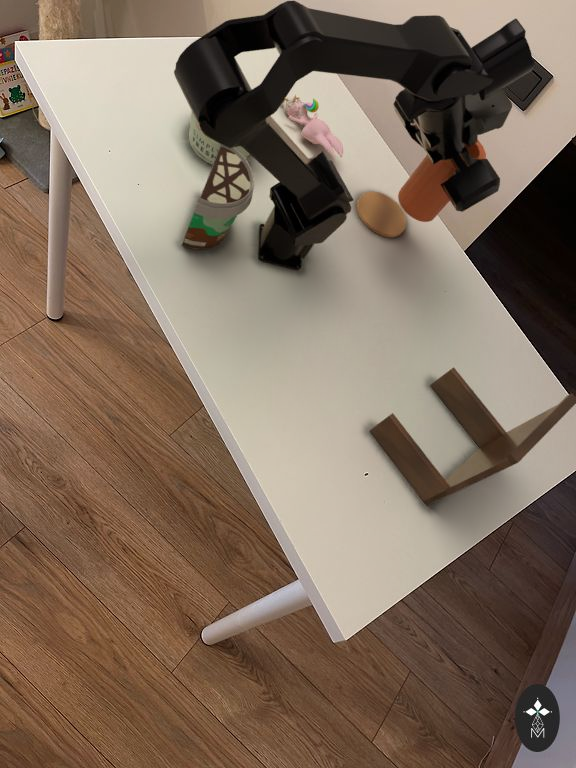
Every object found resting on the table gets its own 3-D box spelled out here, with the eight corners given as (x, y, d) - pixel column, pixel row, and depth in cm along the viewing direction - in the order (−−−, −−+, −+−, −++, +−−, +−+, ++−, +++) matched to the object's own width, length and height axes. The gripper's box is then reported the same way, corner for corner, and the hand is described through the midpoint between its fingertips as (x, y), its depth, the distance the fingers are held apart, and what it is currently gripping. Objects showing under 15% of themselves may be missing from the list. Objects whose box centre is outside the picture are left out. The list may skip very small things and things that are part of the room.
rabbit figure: (269, 112, 101) (320, 168, 96) (279, 79, 96) (333, 135, 91) (298, 110, 104) (348, 163, 99) (308, 77, 100) (362, 131, 94)
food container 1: (165, 143, 86) (175, 107, 81) (201, 104, 93) (213, 67, 88) (236, 188, 88) (251, 155, 83) (267, 146, 95) (282, 113, 89)
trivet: (358, 228, 94) (360, 226, 94) (355, 187, 99) (356, 185, 98) (406, 243, 98) (408, 241, 97) (401, 202, 102) (403, 200, 101)
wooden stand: (369, 430, 78) (445, 372, 64) (432, 382, 86) (513, 322, 72) (426, 505, 76) (518, 463, 62) (486, 449, 84) (578, 400, 71)
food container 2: (221, 271, 80) (245, 222, 72) (178, 253, 79) (197, 201, 70) (242, 209, 87) (266, 158, 78) (202, 191, 85) (223, 137, 77)
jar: (433, 229, 91) (485, 172, 81) (395, 209, 89) (443, 148, 80) (437, 200, 94) (486, 142, 85) (400, 180, 93) (446, 119, 83)
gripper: (544, 132, 68) (533, 193, 83) (464, 18, 73) (467, 94, 88) (455, 185, 71) (460, 235, 85) (384, 70, 76) (400, 136, 90)
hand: (448, 173), depth 87 cm, fingers closed on jar, 7 cm apart
